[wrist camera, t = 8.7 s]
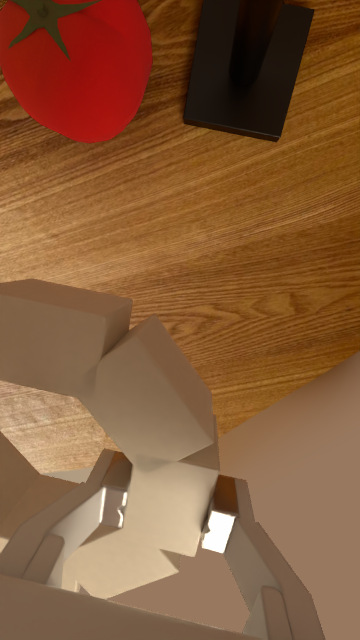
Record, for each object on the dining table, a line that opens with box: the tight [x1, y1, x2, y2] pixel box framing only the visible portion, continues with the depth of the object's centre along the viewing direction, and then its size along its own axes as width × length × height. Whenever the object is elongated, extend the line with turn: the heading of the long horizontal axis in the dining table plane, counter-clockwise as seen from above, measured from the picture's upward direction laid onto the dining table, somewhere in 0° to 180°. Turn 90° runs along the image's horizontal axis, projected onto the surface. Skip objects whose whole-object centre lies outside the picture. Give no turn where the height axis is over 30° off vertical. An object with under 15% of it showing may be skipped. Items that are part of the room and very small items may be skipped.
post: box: [183, 0, 314, 142], centre depth 18 cm, size 10×10×13 cm
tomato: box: [0, 0, 153, 143], centre depth 21 cm, size 11×13×10 cm
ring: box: [0, 279, 220, 599], centre depth 11 cm, size 13×13×3 cm
